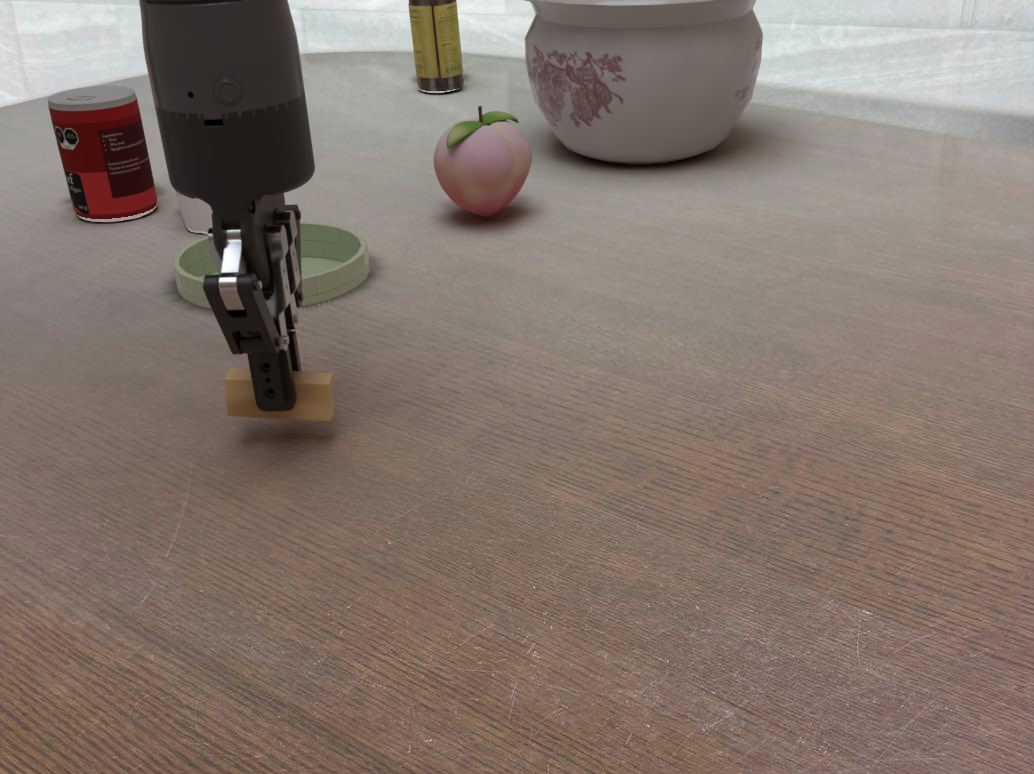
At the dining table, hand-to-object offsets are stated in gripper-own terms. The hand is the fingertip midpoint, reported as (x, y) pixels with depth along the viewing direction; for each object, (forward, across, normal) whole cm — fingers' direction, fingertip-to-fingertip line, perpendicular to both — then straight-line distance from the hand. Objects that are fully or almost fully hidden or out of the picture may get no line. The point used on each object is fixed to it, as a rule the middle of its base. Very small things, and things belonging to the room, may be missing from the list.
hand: (281, 399), depth 70 cm
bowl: (+4, -28, -7) cm, 29 cm away
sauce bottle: (+4, -103, 0) cm, 103 cm away
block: (+1, 0, 0) cm, 1 cm away
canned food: (+4, -52, -27) cm, 59 cm away
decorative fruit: (+4, -47, +9) cm, 48 cm away
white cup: (+4, -47, -16) cm, 50 cm away
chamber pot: (+4, -70, +25) cm, 74 cm away
